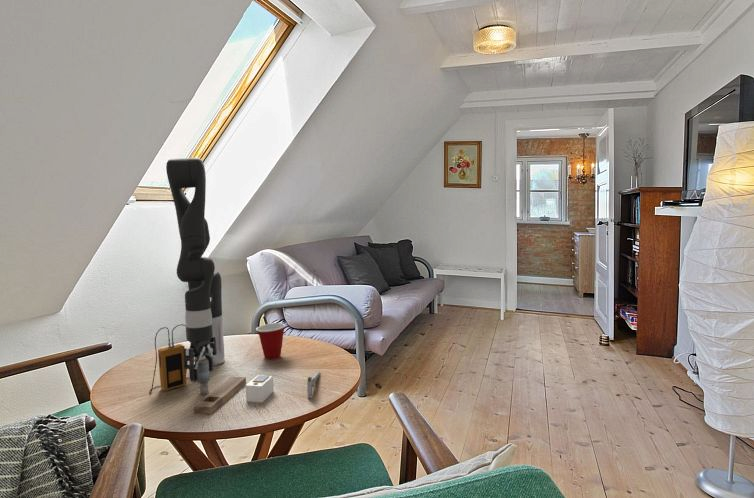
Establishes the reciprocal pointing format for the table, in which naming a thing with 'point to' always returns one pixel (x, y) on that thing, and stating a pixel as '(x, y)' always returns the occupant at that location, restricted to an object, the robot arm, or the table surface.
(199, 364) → the grey stepped cylinder
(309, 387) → the caliper
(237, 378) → the bar
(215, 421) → the table surface
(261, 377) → the block
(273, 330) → the plastic cup
